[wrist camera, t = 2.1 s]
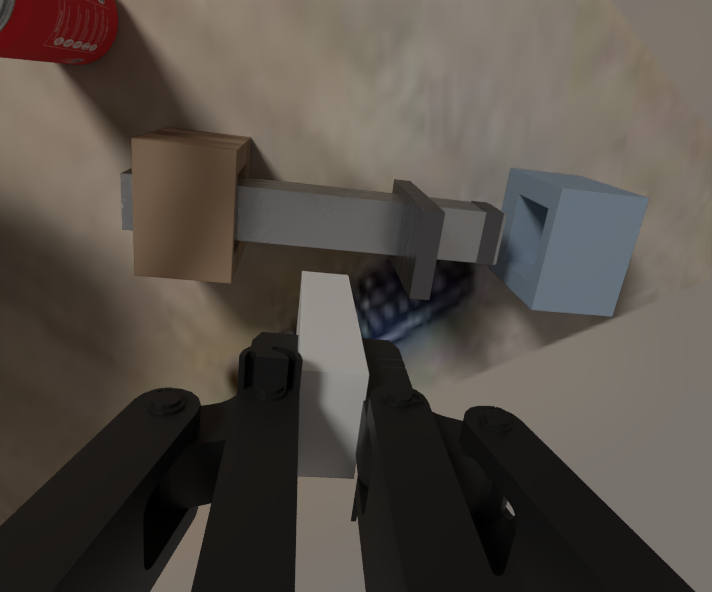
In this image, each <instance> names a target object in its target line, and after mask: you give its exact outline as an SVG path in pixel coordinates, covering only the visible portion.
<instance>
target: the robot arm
mask: <svg viewBox="0 0 712 592" xmlns="http://www.w3.org/2000/svg"><path fill="white" fill-rule="evenodd" d="M356 463H357V471H358V478H357V484H356V491H355V498H354V505H353V511H352V517H351V521H356V518H357V516H358V525H359V534H360V543H361V552H362V561H363V571H364V579H365V589H366V592H695V591H694V590H693V589H692V588H691V587H690V586H689V585H688V584H687V583H686V582H685V581H684V580H683V579H682V578H681V577H680V576H679V575H678V574H677V573H676V572H675V571H674V570H673V569H672V568H670V566H669V565H668V564H667V563H666V562H664V561H663V560H662V559H661V558H660V557H659V556H658V555H657V554H656V553H655V552H654V551H653V550H652V549H651V548H650V547H649V546H648V545H647V544H646V543H645V542H644V541H643V540H642V539H641V538H640V537H639V536H638V535H637V534H636V533H635V532H634V531H633V530H632V529H631V528H630V527H629V526H628V525H627V524H626V523H625V522H624V521H623V520H622V519H621V518H620V517H619V516H618V515H617V514H616V513H615V512H614V511H613V510H612V509H611V508H610V507H608V505H607V504H606V503H605V502H604V501H602V500H601V499H600V498H599V497H598V496H597V495H596V494H595V493H594V492H593V491H592V490H591V489H590V488H589V487H588V486H587V485H586V484H585V483H584V482H583V481H582V480H581V479H580V478H579V477H578V476H577V475H576V474H575V473H574V472H573V471H572V470H571V469H570V468H569V467H568V466H567V465H566V464H565V463H564V462H563V461H562V460H561V459H560V458H559V457H558V456H557V455H556V454H555V453H554V452H553V451H552V450H551V449H550V448H549V447H548V446H547V445H546V444H545V443H543V442H542V441H541V440H540V439H539V438H538V437H537V436H536V435H535V434H534V433H533V432H532V431H531V430H530V429H529V428H528V427H527V426H526V425H525V424H524V423H523V422H522V421H521V420H520V419H519V418H517V417H516V416H515V415H513V414H512V413H509V412H507V411H505V410H503V409H501V408H498V407H496V408H495V407H494V406H476V407H471V408H469V409H468V410H467V411H466V412H465V414H464V419H463V421H461V420H456V419H453V418H449V417H445V416H442V415H439V414H436V413H434V412H432V411H431V408H430V405H429V403H428V401H427V399H426V398H425V396H424V395H423V394H421V393H420V392H418V391H417V390H415V389H413V388H412V385H411V382H410V380H409V377H408V374H407V371H406V368H405V365H404V362H403V361H402V356H401V354H400V351H399V349H398V348H397V347H396V346H395V345H394V344H392V343H391V342H390V341H389V340H377V339H363V338H361V334H360V329H359V324H358V320H357V315H356V310H355V305H354V301H353V296H352V291H351V286H350V282H349V277H348V275H341V274H330V273H319V272H308V271H302V278H301V289H300V300H299V311H298V322H297V332H296V335H293V334H280V333H267V332H262V333H260V334H259V335H258V336H257V337H255V338H254V339H253V340H252V345H251V346H250V347H248V348H246V349H244V350H243V351H242V352H241V354H240V355H239V372H238V390H237V395H236V396H234V397H233V398H231V399H229V400H227V401H224V402H221V403H216V404H211V405H203V406H201V404H200V401H199V398H198V397H197V396H196V395H194V394H193V393H192V392H189V391H186V390H183V389H177V388H159V389H155V390H152V391H149V392H146V393H143V394H142V395H140V396H139V397H137V398H135V399H134V400H133V401H132V402H131V403H130V404H129V405H128V406H127V407H126V408H125V409H124V410H123V411H122V412H120V413H119V414H118V415H117V416H116V417H115V418H114V419H113V420H112V421H111V422H110V423H109V424H108V425H107V426H106V427H105V428H104V429H103V430H101V431H100V432H99V433H98V434H97V435H96V436H95V437H94V438H93V439H92V440H91V441H90V442H89V443H88V444H87V445H86V446H85V447H83V448H82V449H81V450H80V451H79V452H78V453H77V454H76V455H75V456H74V457H73V458H72V459H71V460H70V461H69V462H68V463H67V464H66V465H64V466H63V467H62V468H61V469H60V470H59V471H58V472H57V473H56V474H55V475H54V476H53V477H52V478H51V479H50V480H49V481H48V482H46V483H45V484H44V485H43V486H42V487H41V488H40V489H39V490H38V491H37V492H36V493H35V494H34V495H33V496H32V497H31V498H30V499H29V500H27V501H26V502H25V503H24V504H23V505H22V506H21V507H20V508H19V509H18V510H17V511H16V512H15V513H14V514H13V515H12V516H11V517H9V518H8V519H7V520H6V521H5V522H4V523H3V524H2V525H1V526H0V592H150V591H151V589H152V587H153V586H154V584H155V582H156V581H157V579H158V577H159V576H160V574H161V572H162V571H163V569H164V567H165V566H166V564H167V563H168V561H169V559H170V557H171V556H172V554H173V553H174V551H175V549H176V548H177V546H178V545H179V543H180V541H181V540H182V538H183V536H184V535H185V533H186V531H187V530H188V528H189V526H190V525H191V523H192V521H193V520H194V518H195V516H196V513H197V510H198V506H200V505H205V504H209V503H211V507H210V512H209V516H208V521H207V525H206V529H205V534H204V538H203V542H202V547H201V551H200V555H199V560H198V564H197V569H196V573H195V577H194V581H193V586H192V590H191V592H295V558H296V515H297V477H298V476H303V477H325V478H326V477H327V478H348V479H354V473H355V467H356ZM507 501H508V502H509V503H510V505H511V506H512V508H513V510H514V513H515V516H513V515H512V514H511V513H510V512H509V510H508V509H507V508H506V505H507Z"/></svg>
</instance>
